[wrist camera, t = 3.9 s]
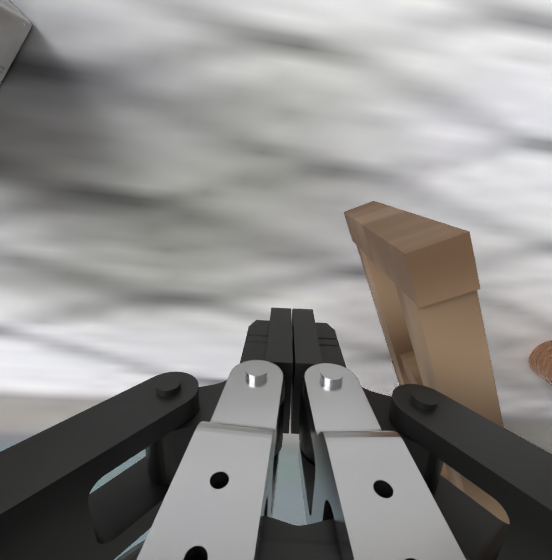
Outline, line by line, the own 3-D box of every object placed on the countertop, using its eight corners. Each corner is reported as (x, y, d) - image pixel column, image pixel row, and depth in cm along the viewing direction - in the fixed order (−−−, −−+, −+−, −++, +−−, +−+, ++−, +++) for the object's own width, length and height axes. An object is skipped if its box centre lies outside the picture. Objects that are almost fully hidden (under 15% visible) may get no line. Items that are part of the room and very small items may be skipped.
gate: (437, 430, 21) (541, 608, 12) (413, 436, 21) (499, 615, 13) (373, 201, 16) (469, 231, 8) (343, 212, 17) (405, 253, 8)
